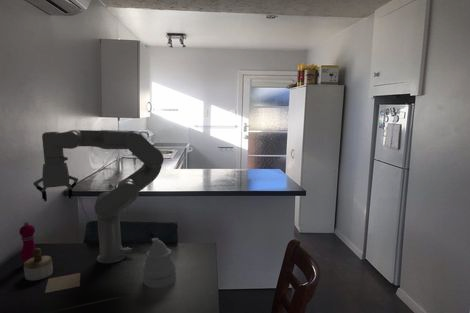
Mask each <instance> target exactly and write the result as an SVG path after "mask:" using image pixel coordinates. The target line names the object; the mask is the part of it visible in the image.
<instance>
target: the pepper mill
mask: <svg viewBox="0 0 470 313" xmlns="http://www.w3.org/2000/svg"><path fill="white" fill-rule="evenodd" d="M35 232H36V228H35V227H34V225H32V224H30V223H29V222H28V221H25V222H24V223H23V226H21V227H20V228H19V235H20V236H21V237H20V238H21V241H22V243H23V245H22V249H21V251H20V259H21V261H22V267H23V268H24V262H25V261H27V260H28V259H31V258H33V257H34V256H33V249H35V248H37V246H36V244H35V241H34V240H35Z"/></svg>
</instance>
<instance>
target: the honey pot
mask: <svg viewBox="0 0 470 313" xmlns="http://www.w3.org/2000/svg"><path fill="white" fill-rule="evenodd" d="M151 242H152V245H151V247H150V249H149V250H148V251H147V252H146V253H145V257H146V259H145V261H144V262H145V263H144V265H143V269H142V273H143V274H142V275H143V277H142V278H143V284H144V285H145V286H146V287H148V288H151V289H160V288H165V287H169V286H170V285H172V284H174V283H175V282H176V280H177V270H176V263H175V262H174V260H173V256H172V250H171V249H170V248H168V247H167V245H166V244H165V243H164V242H163V241H162V240H160V239H159V238H158V237H154V238H151Z"/></svg>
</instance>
